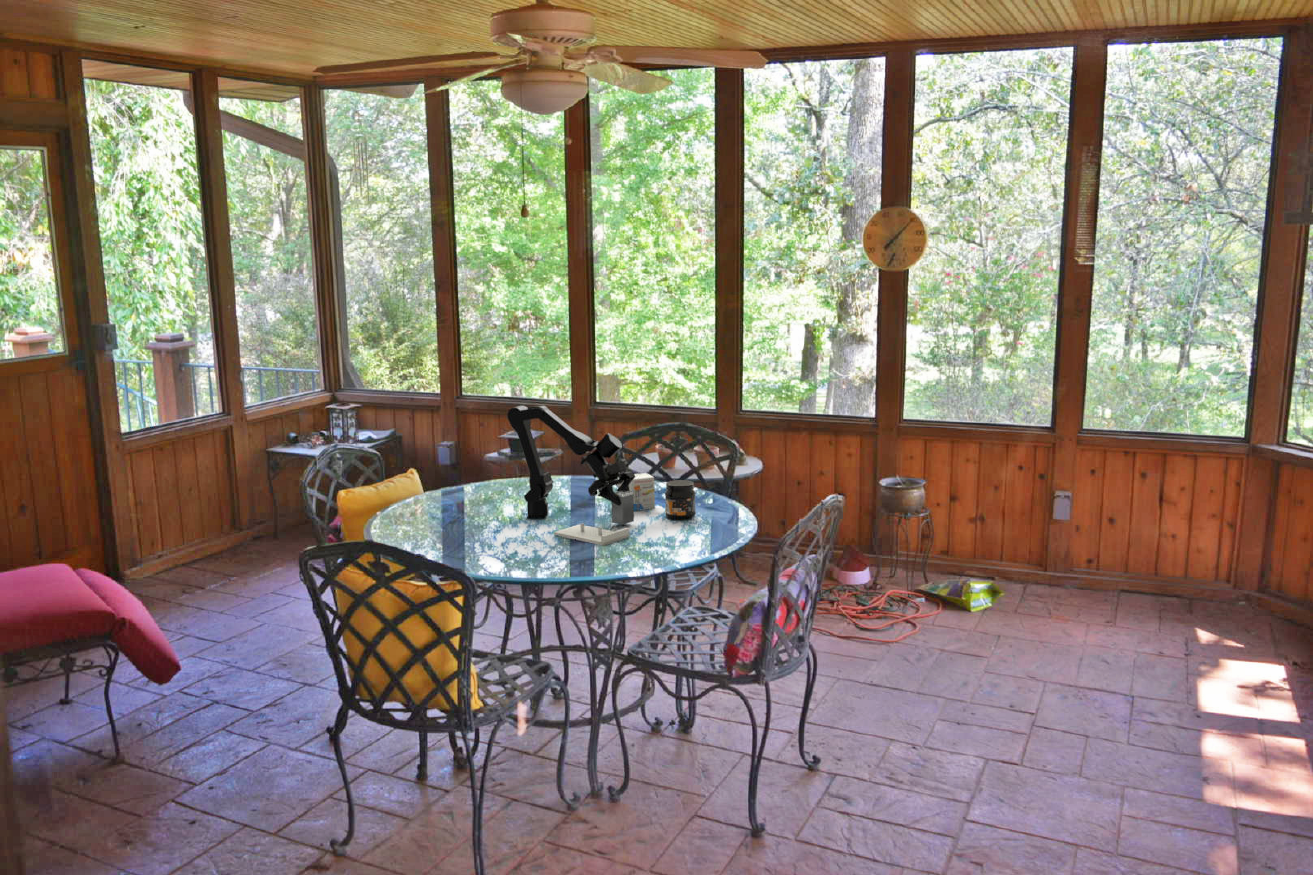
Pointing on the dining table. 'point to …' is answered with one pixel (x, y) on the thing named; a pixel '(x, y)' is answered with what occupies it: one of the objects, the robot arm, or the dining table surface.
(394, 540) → the dining table surface
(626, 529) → the tray
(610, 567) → the dining table surface
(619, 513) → the block
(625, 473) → the robot arm
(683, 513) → the supplement container
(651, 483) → the ink box
